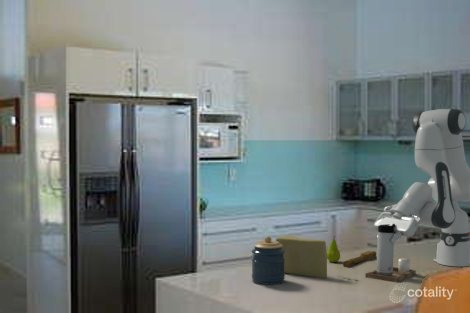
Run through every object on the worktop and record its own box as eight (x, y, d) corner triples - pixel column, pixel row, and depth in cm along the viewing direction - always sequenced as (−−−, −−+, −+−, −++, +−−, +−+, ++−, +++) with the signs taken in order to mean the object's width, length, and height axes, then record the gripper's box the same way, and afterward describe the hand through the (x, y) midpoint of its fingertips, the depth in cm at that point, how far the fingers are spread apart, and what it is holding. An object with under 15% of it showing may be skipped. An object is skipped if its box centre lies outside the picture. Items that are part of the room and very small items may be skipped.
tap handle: (342, 260, 264) (371, 249, 288) (342, 267, 264) (371, 256, 288) (348, 261, 262) (377, 250, 286) (348, 268, 263) (377, 257, 287)
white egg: (401, 272, 247) (401, 257, 247) (411, 274, 244) (411, 259, 244) (396, 274, 244) (396, 259, 243) (406, 275, 241) (406, 260, 241)
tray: (385, 272, 253) (385, 265, 253) (415, 276, 244) (415, 270, 244) (365, 280, 239) (365, 273, 239) (396, 285, 231) (396, 278, 231)
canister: (288, 278, 242) (288, 234, 242) (280, 286, 230) (279, 239, 229) (257, 276, 246) (257, 233, 246) (247, 283, 234) (247, 238, 234)
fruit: (323, 262, 274) (323, 235, 274) (331, 260, 279) (331, 233, 279) (335, 264, 270) (335, 237, 270) (343, 261, 275) (343, 235, 274)
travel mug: (393, 276, 237) (395, 225, 237) (376, 275, 238) (378, 224, 238) (393, 273, 243) (395, 223, 243) (376, 272, 244) (378, 222, 244)
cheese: (332, 276, 247) (332, 239, 246) (319, 280, 239) (319, 242, 239) (288, 268, 261) (288, 233, 261) (274, 272, 254) (274, 236, 253)
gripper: (426, 222, 236) (407, 249, 232) (390, 216, 254) (372, 241, 250) (418, 211, 234) (398, 239, 230) (382, 206, 252) (363, 231, 248)
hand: (384, 240), depth 240 cm, fingers closed on travel mug, 6 cm apart
